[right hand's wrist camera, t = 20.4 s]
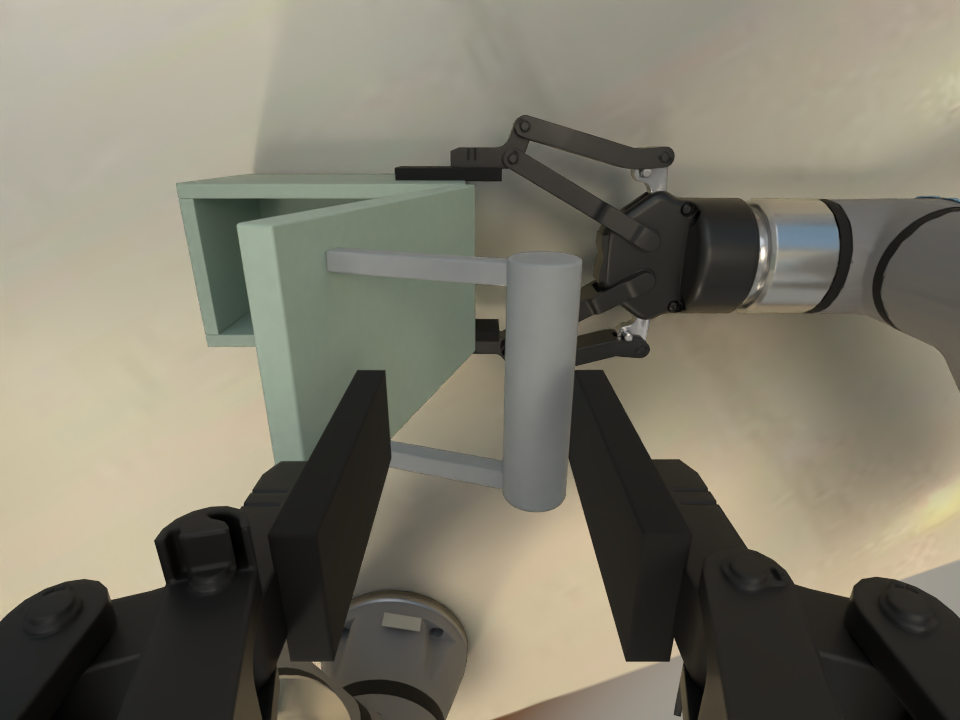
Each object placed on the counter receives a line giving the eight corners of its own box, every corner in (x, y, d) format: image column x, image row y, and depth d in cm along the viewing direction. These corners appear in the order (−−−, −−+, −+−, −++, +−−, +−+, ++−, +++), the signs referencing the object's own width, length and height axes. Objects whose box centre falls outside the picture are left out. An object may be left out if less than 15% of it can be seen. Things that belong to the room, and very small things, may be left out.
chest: (267, 301, 43) (207, 347, 34) (248, 173, 40) (175, 183, 30) (466, 300, 44) (466, 346, 34) (465, 174, 40) (465, 183, 30)
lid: (281, 514, 18) (547, 578, 16) (234, 223, 15) (568, 241, 12) (457, 348, 33) (607, 366, 31) (454, 184, 30) (625, 188, 27)
